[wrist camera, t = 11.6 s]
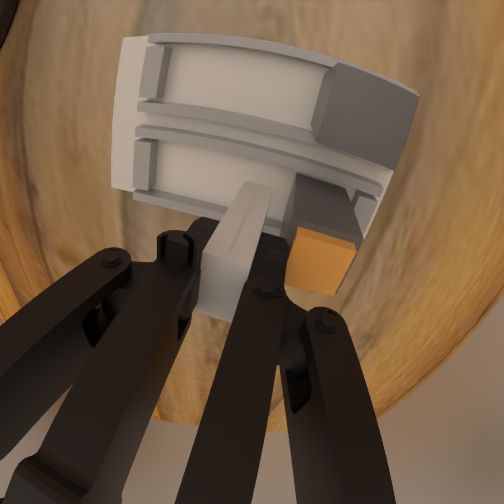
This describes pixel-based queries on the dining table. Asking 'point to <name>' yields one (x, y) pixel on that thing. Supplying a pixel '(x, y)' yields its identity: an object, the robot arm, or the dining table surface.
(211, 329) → the dining table surface
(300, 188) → the handle
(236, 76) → the panel
